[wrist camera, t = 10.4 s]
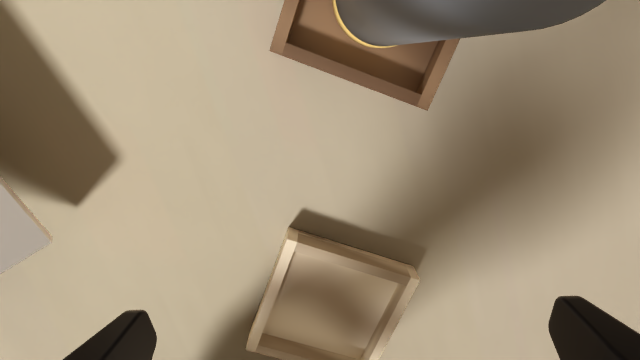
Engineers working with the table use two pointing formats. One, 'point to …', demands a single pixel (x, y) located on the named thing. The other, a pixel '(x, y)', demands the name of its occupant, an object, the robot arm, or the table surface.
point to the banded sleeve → (448, 18)
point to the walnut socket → (360, 54)
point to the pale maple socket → (330, 301)
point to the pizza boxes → (18, 229)
